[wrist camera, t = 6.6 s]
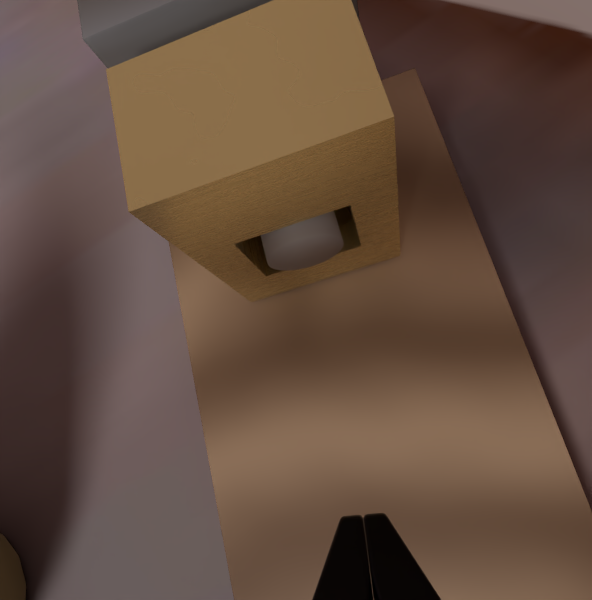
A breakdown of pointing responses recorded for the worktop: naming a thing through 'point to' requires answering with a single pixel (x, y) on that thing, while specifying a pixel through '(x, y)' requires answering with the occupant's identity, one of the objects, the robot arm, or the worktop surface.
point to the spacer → (261, 141)
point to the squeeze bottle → (10, 573)
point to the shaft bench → (372, 382)
